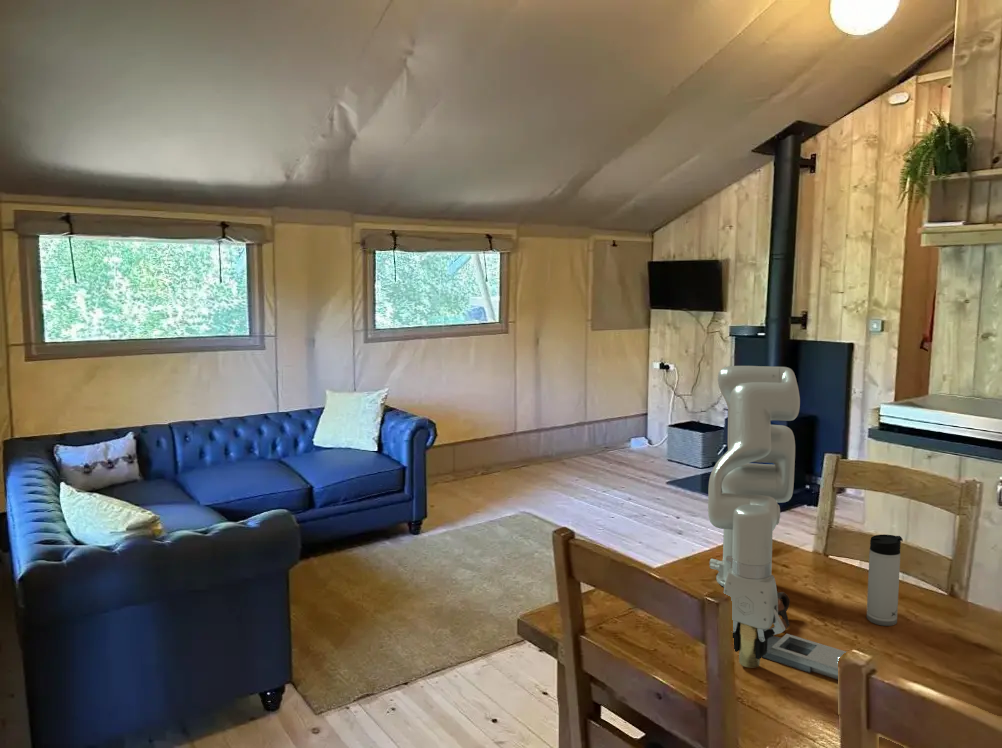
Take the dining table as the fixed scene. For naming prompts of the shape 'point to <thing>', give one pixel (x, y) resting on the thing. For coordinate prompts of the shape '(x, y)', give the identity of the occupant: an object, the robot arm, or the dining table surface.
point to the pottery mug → (783, 608)
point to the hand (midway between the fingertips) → (749, 651)
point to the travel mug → (883, 579)
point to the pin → (748, 646)
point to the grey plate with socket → (817, 655)
